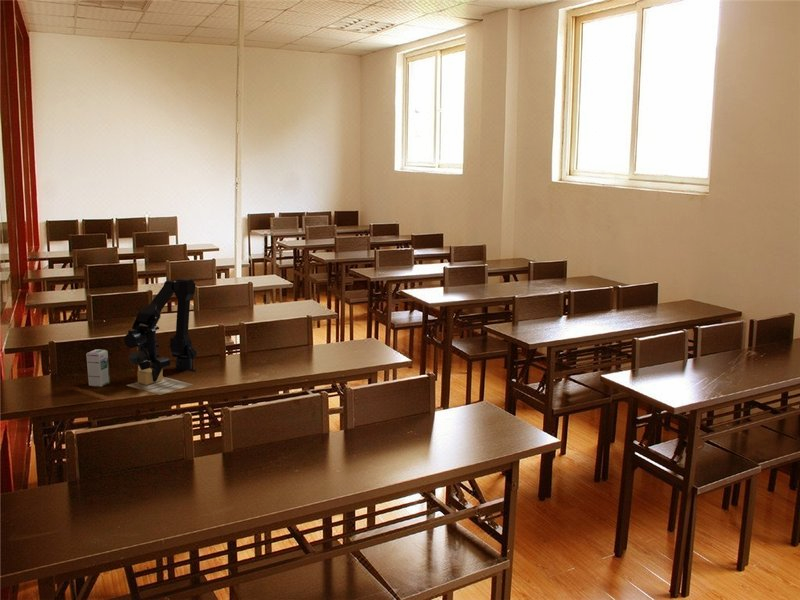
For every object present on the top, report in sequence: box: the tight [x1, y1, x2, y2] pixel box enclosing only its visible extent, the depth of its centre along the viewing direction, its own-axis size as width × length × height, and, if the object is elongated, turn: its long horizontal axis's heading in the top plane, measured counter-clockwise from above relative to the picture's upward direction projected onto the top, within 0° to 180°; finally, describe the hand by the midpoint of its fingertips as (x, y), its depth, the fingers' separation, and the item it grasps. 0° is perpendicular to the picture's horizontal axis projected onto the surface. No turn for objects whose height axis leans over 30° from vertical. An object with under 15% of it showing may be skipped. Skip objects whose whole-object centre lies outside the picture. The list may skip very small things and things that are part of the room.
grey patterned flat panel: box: [126, 376, 194, 396], centre depth 282 cm, size 16×20×1 cm
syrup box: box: [85, 349, 111, 387], centre depth 280 cm, size 6×6×14 cm
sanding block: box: [137, 368, 164, 385], centre depth 284 cm, size 8×5×5 cm, turn 147°
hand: (150, 380), depth 284 cm, fingers closed on sanding block, 5 cm apart
